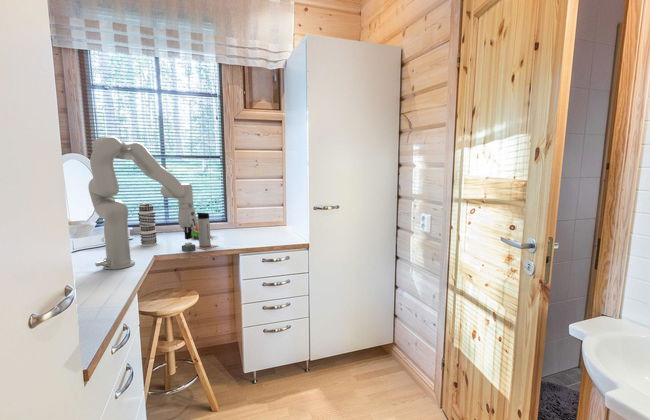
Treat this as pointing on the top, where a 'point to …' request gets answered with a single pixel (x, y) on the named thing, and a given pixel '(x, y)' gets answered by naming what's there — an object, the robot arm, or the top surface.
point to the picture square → (206, 247)
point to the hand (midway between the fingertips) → (188, 238)
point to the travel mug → (204, 230)
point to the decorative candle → (147, 224)
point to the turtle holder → (195, 231)
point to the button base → (188, 248)
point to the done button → (188, 244)
